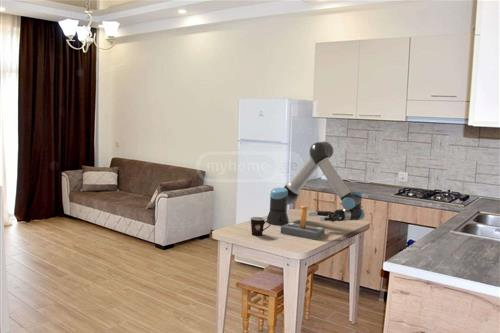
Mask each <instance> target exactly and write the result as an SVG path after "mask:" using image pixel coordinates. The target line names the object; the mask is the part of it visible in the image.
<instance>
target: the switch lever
mask: <svg viewBox="0 0 500 333" xmlns="http://www.w3.org/2000/svg"><path fill="white" fill-rule="evenodd" d="M308 209H309V207H308V206H307V205H300V221H299V222H300V223H299V224H300V227H301V228H305V227H306V225H307V217H308Z"/></svg>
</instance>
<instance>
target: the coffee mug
mask: <svg viewBox="0 0 500 333" xmlns="http://www.w3.org/2000/svg"><path fill="white" fill-rule="evenodd" d="M267 222H269V221H267V220H266V219H265V217H260V216H253V217H250V226H251V227H250V229H251V235H252V236H254V237H261V236H263V232H264V231H265V230H267V229H268V228H269V227H271V224H269V223H270V222H269V223H268V224H269V225H268V226H267V227H265V226H264V225H265V224H266V223H267ZM264 227H265V228H264Z"/></svg>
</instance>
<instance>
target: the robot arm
mask: <svg viewBox="0 0 500 333" xmlns="http://www.w3.org/2000/svg"><path fill="white" fill-rule="evenodd" d="M309 147H310V148H309V157H308V159H307V160H306V161H305V163H304V164H303V165H302V167H301V168H300V169H299V170H298V171H297V173H296V174H295V176H294V177H293V178H292V180H291V181H290V182H287V183H286V184H285V185H284V186H283V187H274V188H272V189H271V190H270V194H269V196H270V198H269V212H268V214H267V217H266V221H269V222H270V223H269V222H266V223H268V224H269V225H275V226H284V225H286V224H288V223H290V222H289V221H290V220H289V216H288V212H287V211H288V205H292V204H294V203H295V202H297V200H298V198H299V195H300V194H301V189H302V188H304V185H306V182H308V181H309V179H310V178H311V177H312V175H313V174H314V172H316V170H318V168H319V169H320V170H321V172H322V173H323V175H324V176H325V178H326V179H327V181H328V182H329V184H330V185H331V187H332V189H333V190H334V191H335V193H336V194H337V196H338V198H339V199H340V200H341V205H342V207H343V208H342V209H341V208H340V209H339V208H338V209H336V210H335V211H331V210H328V211H327V210H326V211H325V210H316V211H307V217H318V216H319V217H318V218H319V219H318V221H319V222H331V223H334V222H348V221H361V220H363V219H364V217H365V212H364V209H362V199H363V195H362V194H363V192H362V191H360V190H351V191H350V190H349V188H348V187H347V185H346V183H345V182H344V181H343V179H342V178H341V176H340V175H339V173H338V171H337V170H336V169H335V167H334V165H333V164H332V163H331V162H330V158H331V157H332V156H333V155H334V146H333V145H332V144H331V143H330V142H329V141H328V142H327V141H318V142H314V143H313V144H311V146H309Z"/></svg>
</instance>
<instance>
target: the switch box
mask: <svg viewBox="0 0 500 333" xmlns="http://www.w3.org/2000/svg"><path fill="white" fill-rule="evenodd" d="M325 231H326V229H325V227H320V226H314V225H313V226H312V225H307V224H306V227H305V228H301V227H300V223H295V222H289V223H288V224H286V225H281V226H280V234H284V235H290V236H295V237H299V238H305V239H311V240H317V241H318V240H319V239H320V238H322V237H323V236H325Z"/></svg>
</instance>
